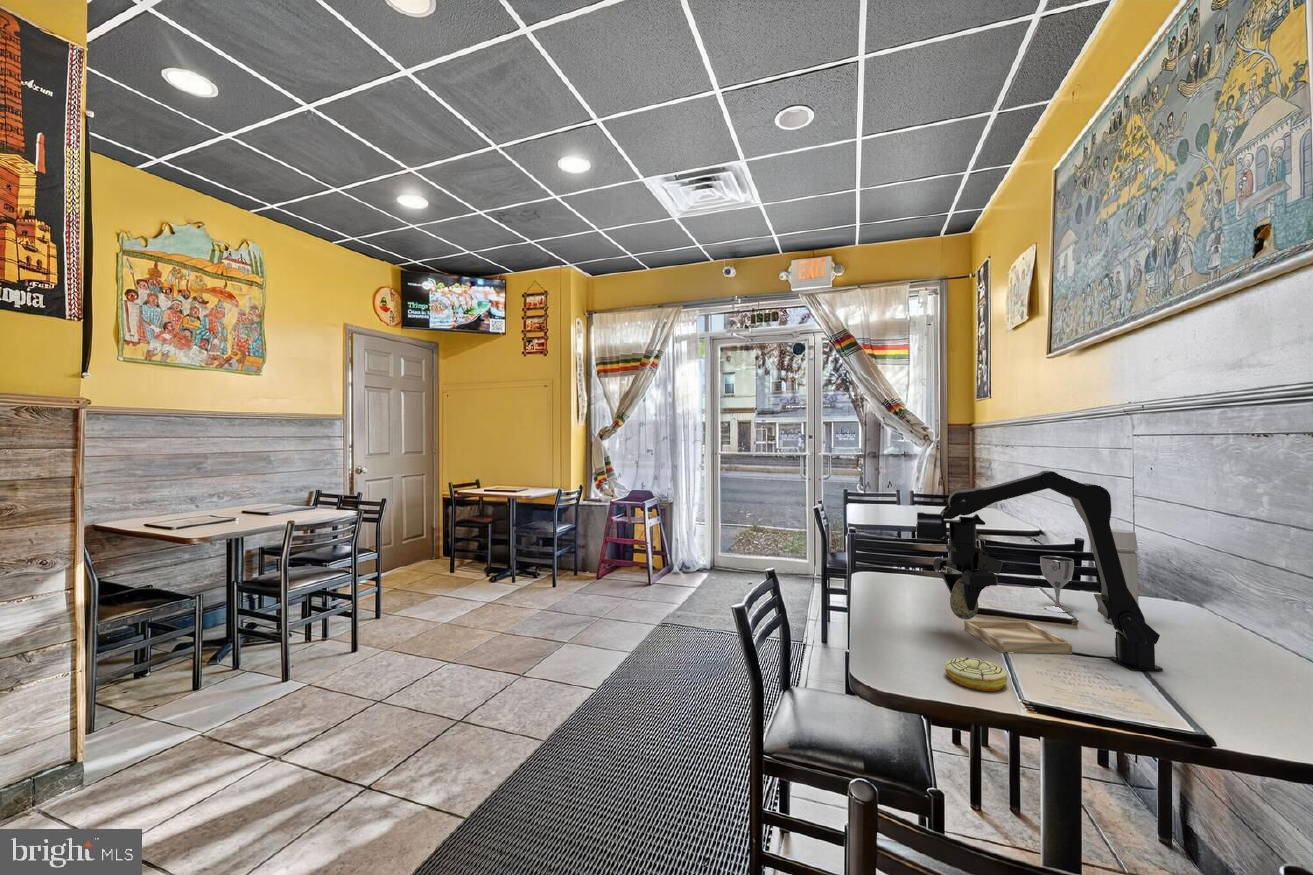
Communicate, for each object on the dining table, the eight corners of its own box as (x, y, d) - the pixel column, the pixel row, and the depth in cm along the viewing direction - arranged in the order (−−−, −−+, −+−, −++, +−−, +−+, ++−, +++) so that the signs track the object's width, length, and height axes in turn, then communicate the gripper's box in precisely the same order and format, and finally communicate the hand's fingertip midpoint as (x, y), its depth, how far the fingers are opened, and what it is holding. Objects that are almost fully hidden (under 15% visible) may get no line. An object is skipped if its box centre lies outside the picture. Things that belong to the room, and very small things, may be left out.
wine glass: (1063, 605, 161) (1062, 555, 162) (1081, 613, 153) (1080, 561, 154) (1035, 605, 162) (1034, 555, 163) (1052, 613, 154) (1050, 560, 155)
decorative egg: (946, 618, 130) (945, 577, 131) (955, 613, 134) (954, 573, 135) (973, 624, 126) (972, 581, 126) (982, 619, 130) (981, 577, 130)
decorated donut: (965, 668, 116) (965, 650, 116) (1018, 687, 106) (1018, 668, 106) (934, 677, 111) (934, 659, 111) (987, 698, 101) (986, 678, 101)
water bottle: (1147, 629, 140) (1145, 533, 141) (1113, 627, 142) (1110, 532, 142) (1124, 618, 149) (1122, 528, 150) (1092, 616, 151) (1090, 527, 151)
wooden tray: (1072, 654, 123) (1072, 643, 123) (1000, 652, 124) (1000, 642, 124) (1027, 630, 139) (1027, 621, 139) (964, 629, 140) (964, 620, 140)
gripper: (1020, 549, 121) (1022, 618, 121) (975, 536, 140) (977, 596, 139) (970, 548, 122) (971, 618, 121) (932, 536, 140) (933, 596, 140)
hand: (964, 606), depth 130 cm, fingers closed on decorative egg, 6 cm apart
